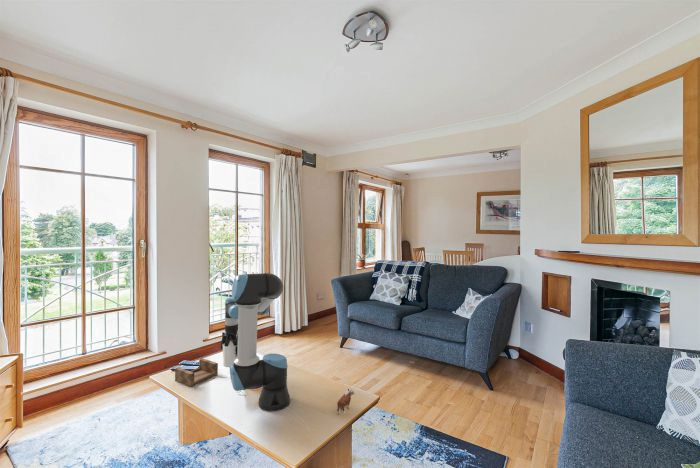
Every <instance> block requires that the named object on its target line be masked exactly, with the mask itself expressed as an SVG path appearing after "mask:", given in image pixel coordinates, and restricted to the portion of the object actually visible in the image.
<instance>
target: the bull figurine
mask: <svg viewBox="0 0 700 468" xmlns="http://www.w3.org/2000/svg"><path fill="white" fill-rule="evenodd" d="M353 395H356V392H355V391H354V390H353V389H352V388H350V389H349V388H347V390H346V392H345V393H344V394H342V396H341V397H340V398H339V399H338V401H337V402H336V403H337V409H336V413H337V412H339V411H340V410H341V414H343V412H344V411H345V408H346V407H348V406H349V407H350V403H351V399H352V396H353ZM345 406H346V407H345ZM339 413H340V412H339Z"/></svg>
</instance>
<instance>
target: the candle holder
mask: <svg viewBox="0 0 700 468" xmlns="http://www.w3.org/2000/svg"><path fill="white" fill-rule="evenodd" d="M235 347H237V346H234V345H233V343H232V341H231V340H230V343H229V345H228V347H226V346H225V343H224V344H223V349H222V358H223V366H224V367H225V368H230V366H231V365H234V360H235V353H236V351H235Z"/></svg>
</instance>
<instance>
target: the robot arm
mask: <svg viewBox="0 0 700 468" xmlns="http://www.w3.org/2000/svg"><path fill="white" fill-rule="evenodd" d="M283 291H284V283H283V281H282V279H281V278H280V277H279V276H277V275H276V274H274V273H270V272H265V273H263V272H262V273H244V274H238V275H236V276H235V277H234V279H233V282H232V286H231V296H230V297H227V298H225V302H224V309H225V311H224V313H225V314H224V324H225V325H224V332H222V333H221V341H220V349H221V350H223V344H224V343H225V346H226V347H228V345H229V343H230V342H231V341H232V343H233V345H234V346H237V347H235V351H236V353H235V360H234V365H231V366H230V367H229V375H230V376H229V377H230V380H231V385H232V389H233V390H234V391H235V392H239V391H246V390H249V389H254V388H258V387H262V389H261V392H260V395H259V398H258V407H259V408H260V409H261V410H263V411H265V412H278V411H280V410H283V409H285V408H287V407H288V406H289V405H290V403H291V396H290V394H289V389H288V386H287V385H288V384H287V383H288V381H287V380H288V360H287V357H286V356H285V355H282V354H280V353H279V354H278V353H266V354H264V355H263V357H262V359H261V358H260V357H259V356H258V355H257V346H258V345H257V344H258V316H263V315H268V313H269V312H270V305H271V304H272V303H273V301H274V300H277V299H279V297H280V296H281V295H282V293H283Z"/></svg>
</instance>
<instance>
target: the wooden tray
mask: <svg viewBox="0 0 700 468" xmlns="http://www.w3.org/2000/svg"><path fill="white" fill-rule="evenodd" d="M198 361H199V363H198V366H199V367H197V368H195V369H192V370H187V369H185V368H182V367H179V366H177V367H175V368H174V369H175V370H174V371H175V372H174V382H176V383H179V384H182V385H184V386H187V387H188V388H192V387H194V386H197V385H199V384H202V383H203V382H205V381H208V380H210V379H213V378H215V377H217V376H219V375H218V372H219V371H218V370H219V369H218V368H219V363H217V362H216V361H211V360H209V359H206V358H199V360H198Z"/></svg>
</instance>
